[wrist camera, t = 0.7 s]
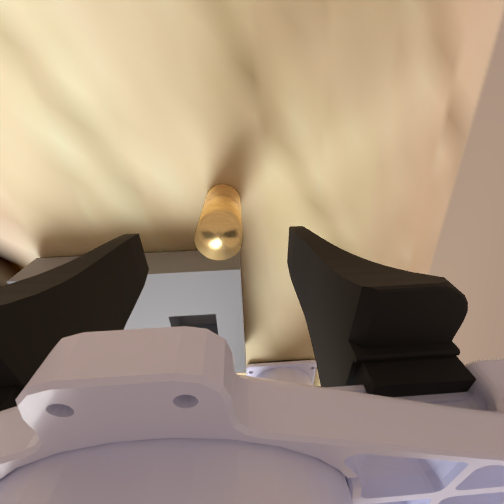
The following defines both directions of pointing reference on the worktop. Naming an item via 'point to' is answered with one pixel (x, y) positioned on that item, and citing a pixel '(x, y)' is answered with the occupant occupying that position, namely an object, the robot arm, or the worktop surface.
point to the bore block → (182, 295)
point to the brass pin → (220, 224)
